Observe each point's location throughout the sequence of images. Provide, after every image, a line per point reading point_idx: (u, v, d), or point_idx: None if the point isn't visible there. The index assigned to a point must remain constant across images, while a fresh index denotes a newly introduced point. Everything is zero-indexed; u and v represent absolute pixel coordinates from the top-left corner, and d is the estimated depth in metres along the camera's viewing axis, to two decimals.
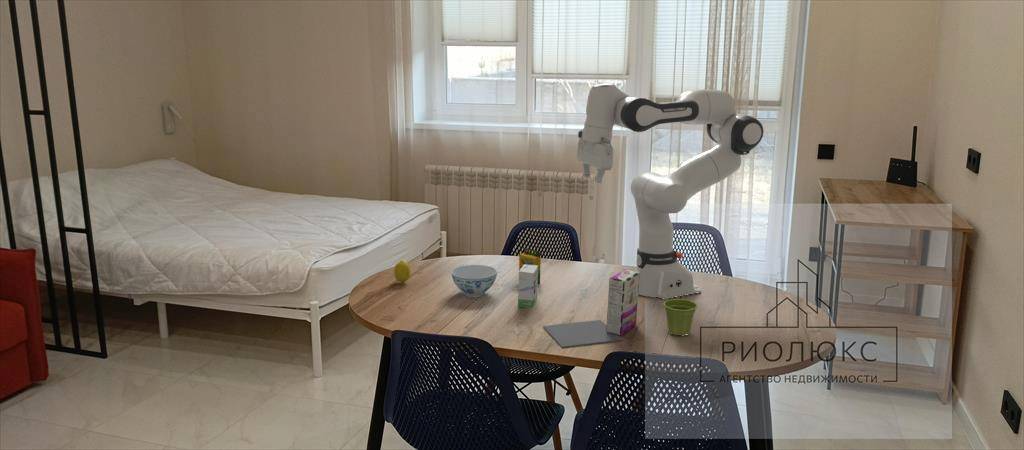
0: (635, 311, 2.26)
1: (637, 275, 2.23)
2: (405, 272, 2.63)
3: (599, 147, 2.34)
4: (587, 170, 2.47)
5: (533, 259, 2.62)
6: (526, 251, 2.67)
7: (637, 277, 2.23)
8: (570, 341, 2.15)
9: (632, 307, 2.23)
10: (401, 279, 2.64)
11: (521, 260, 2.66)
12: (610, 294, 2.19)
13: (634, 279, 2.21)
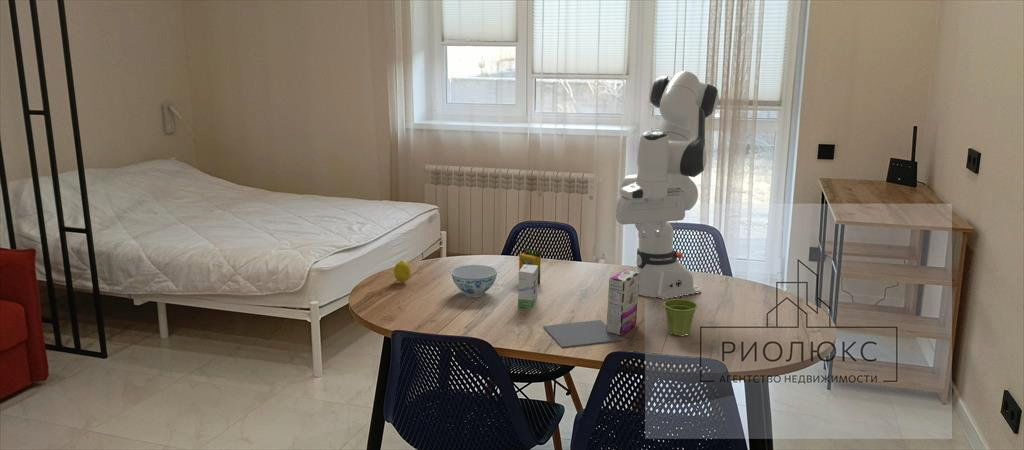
0: (635, 311, 2.26)
1: (637, 275, 2.23)
2: (405, 272, 2.63)
3: (677, 198, 2.18)
4: None
5: (533, 259, 2.62)
6: (526, 251, 2.67)
7: (637, 277, 2.23)
8: (570, 341, 2.15)
9: (632, 307, 2.23)
10: (401, 279, 2.64)
11: (521, 260, 2.66)
12: (610, 294, 2.19)
13: (634, 279, 2.21)
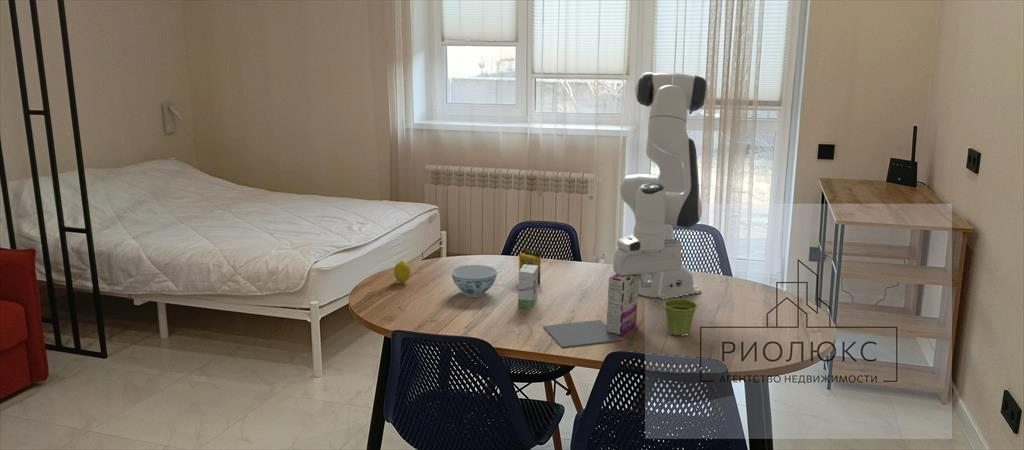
0: (635, 311, 2.26)
1: (637, 275, 2.23)
2: (405, 272, 2.63)
3: (673, 249, 2.22)
4: None
5: (533, 259, 2.62)
6: (526, 251, 2.67)
7: (637, 276, 2.24)
8: (570, 341, 2.15)
9: (632, 307, 2.23)
10: (401, 279, 2.64)
11: (521, 260, 2.66)
12: (610, 294, 2.19)
13: (633, 279, 2.21)
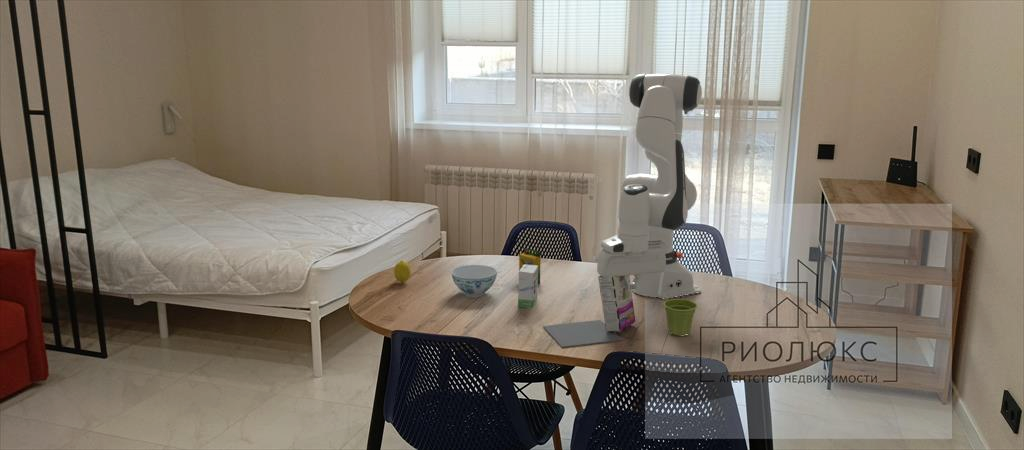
0: (632, 307, 2.27)
1: None
2: (405, 272, 2.63)
3: (657, 251, 2.20)
4: None
5: (533, 259, 2.62)
6: (526, 251, 2.67)
7: None
8: (570, 341, 2.15)
9: (627, 303, 2.24)
10: (401, 279, 2.64)
11: (521, 260, 2.66)
12: (602, 292, 2.20)
13: None
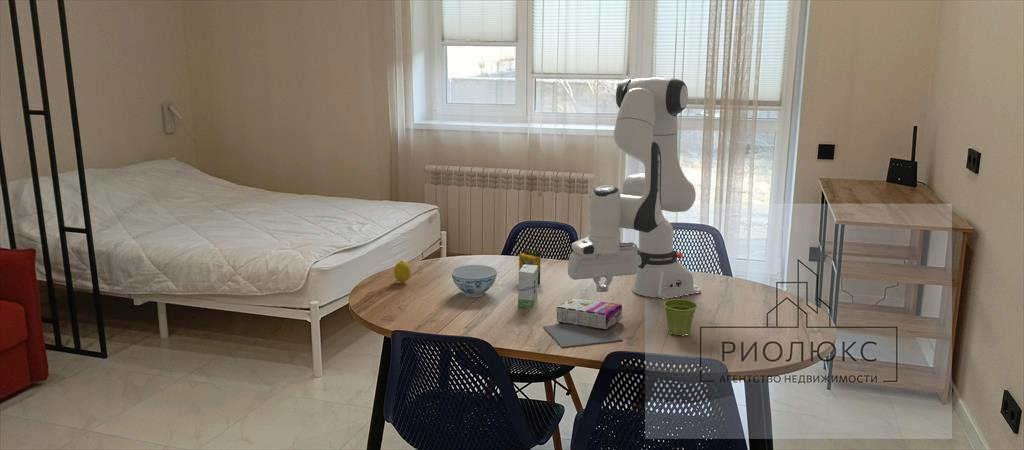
0: (606, 303, 2.31)
1: (572, 299, 2.36)
2: (405, 272, 2.63)
3: (629, 253, 2.18)
4: None
5: (533, 259, 2.62)
6: (526, 251, 2.67)
7: (574, 299, 2.36)
8: (570, 341, 2.15)
9: (596, 304, 2.30)
10: (401, 279, 2.64)
11: (521, 260, 2.66)
12: (570, 321, 2.27)
13: (571, 301, 2.34)
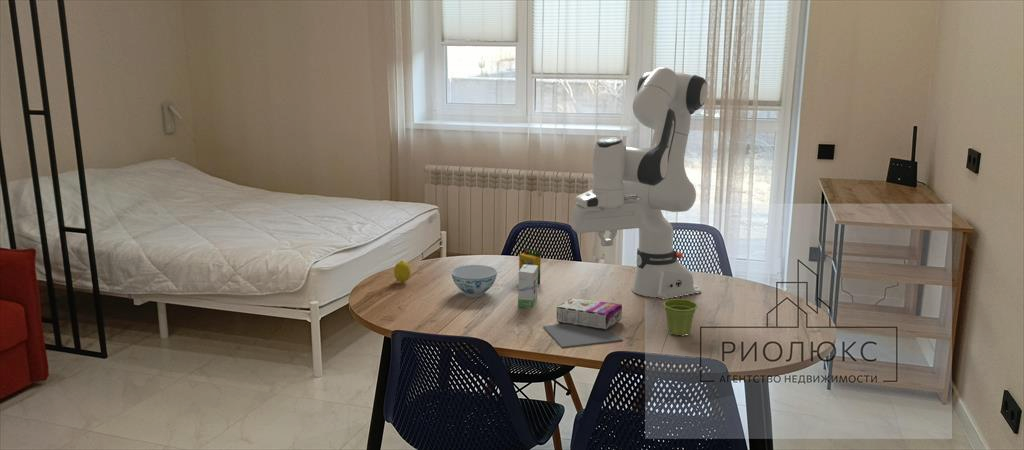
0: (606, 303, 2.31)
1: (572, 299, 2.36)
2: (405, 272, 2.63)
3: (633, 206, 2.15)
4: None
5: (533, 259, 2.62)
6: (526, 251, 2.67)
7: (574, 299, 2.36)
8: (570, 341, 2.15)
9: (596, 304, 2.30)
10: (401, 279, 2.64)
11: (521, 260, 2.66)
12: (570, 321, 2.27)
13: (571, 301, 2.34)
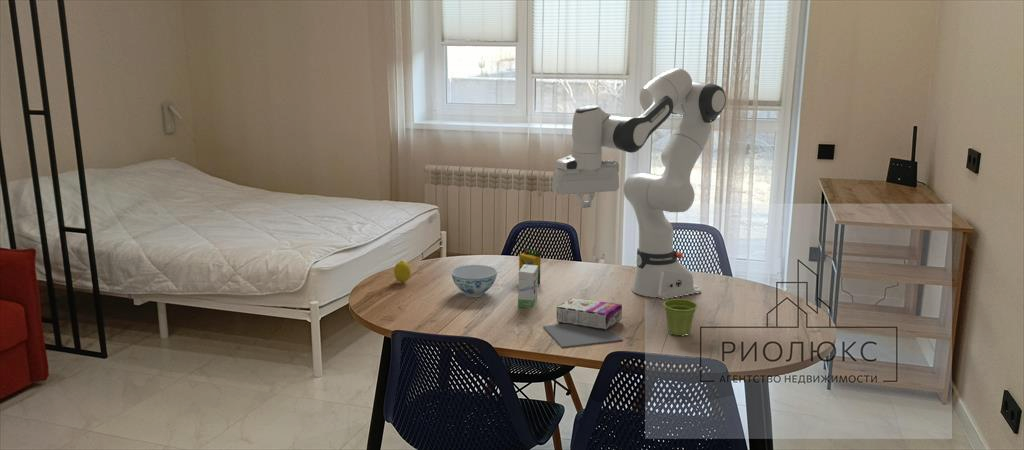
0: (606, 303, 2.31)
1: (572, 299, 2.36)
2: (405, 272, 2.63)
3: (610, 170, 2.29)
4: None
5: (533, 259, 2.62)
6: (526, 251, 2.67)
7: (574, 299, 2.36)
8: (570, 341, 2.15)
9: (596, 304, 2.30)
10: (401, 279, 2.64)
11: (521, 260, 2.66)
12: (570, 321, 2.27)
13: (571, 301, 2.34)
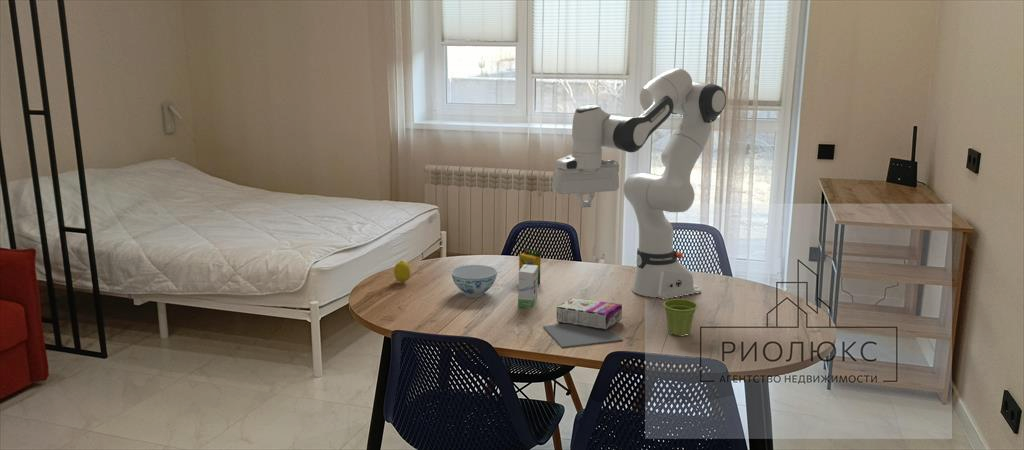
0: (606, 303, 2.31)
1: (572, 299, 2.36)
2: (405, 272, 2.63)
3: (610, 170, 2.29)
4: None
5: (533, 259, 2.62)
6: (526, 251, 2.67)
7: (574, 299, 2.36)
8: (570, 341, 2.15)
9: (596, 304, 2.30)
10: (401, 279, 2.64)
11: (521, 260, 2.66)
12: (570, 321, 2.27)
13: (571, 301, 2.34)
